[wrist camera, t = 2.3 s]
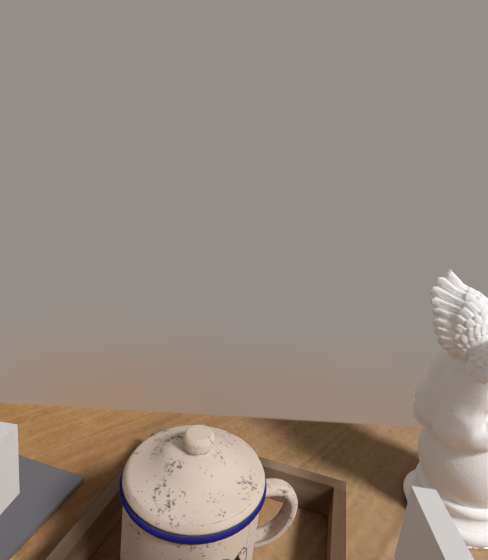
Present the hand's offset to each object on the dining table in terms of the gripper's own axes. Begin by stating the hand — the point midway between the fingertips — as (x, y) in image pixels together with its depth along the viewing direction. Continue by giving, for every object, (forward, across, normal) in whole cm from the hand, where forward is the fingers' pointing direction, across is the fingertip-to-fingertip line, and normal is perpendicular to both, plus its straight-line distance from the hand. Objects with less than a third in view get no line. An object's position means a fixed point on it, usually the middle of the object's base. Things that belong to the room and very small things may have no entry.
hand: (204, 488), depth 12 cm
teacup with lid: (+10, -1, -17) cm, 20 cm away
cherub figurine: (+19, +20, -17) cm, 32 cm away
